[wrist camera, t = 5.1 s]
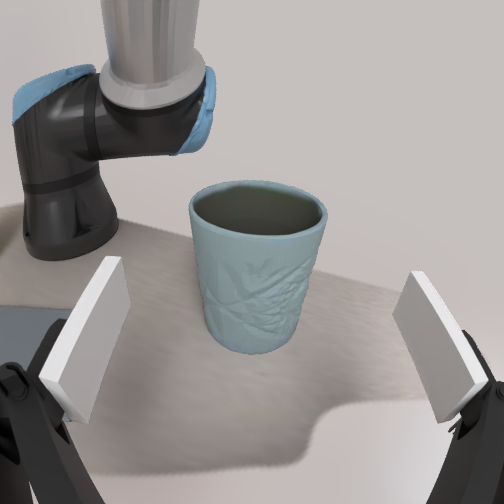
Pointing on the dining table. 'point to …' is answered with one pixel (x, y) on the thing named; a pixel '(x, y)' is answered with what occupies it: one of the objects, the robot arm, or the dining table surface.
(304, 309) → the dining table surface
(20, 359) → the slate mat
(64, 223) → the robot arm
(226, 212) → the embossed teal cup
